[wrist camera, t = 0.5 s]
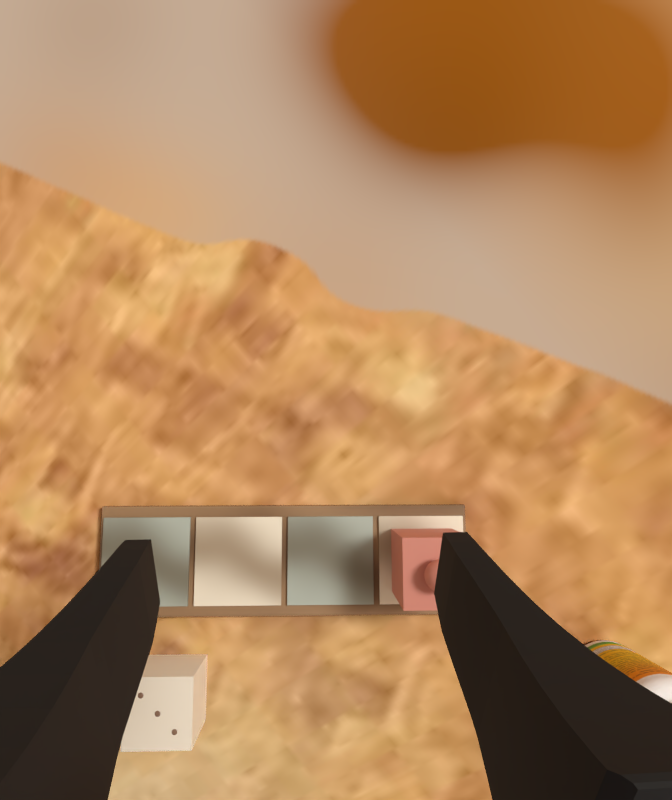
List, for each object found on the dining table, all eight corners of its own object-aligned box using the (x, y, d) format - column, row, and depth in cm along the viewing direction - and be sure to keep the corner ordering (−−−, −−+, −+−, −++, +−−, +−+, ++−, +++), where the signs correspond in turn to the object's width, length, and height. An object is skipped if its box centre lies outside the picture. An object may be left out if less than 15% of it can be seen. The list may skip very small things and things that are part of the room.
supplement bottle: (548, 660, 36) (631, 728, 27) (619, 624, 37) (726, 679, 27) (586, 739, 36) (685, 838, 26) (658, 701, 36) (781, 786, 26)
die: (206, 720, 35) (191, 752, 31) (143, 721, 35) (120, 753, 31) (207, 653, 36) (193, 676, 32) (145, 654, 36) (123, 677, 32)
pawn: (453, 590, 36) (482, 617, 29) (392, 591, 36) (408, 618, 29) (451, 528, 36) (479, 540, 30) (391, 528, 36) (406, 541, 30)
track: (465, 611, 36) (469, 614, 36) (100, 615, 36) (95, 618, 35) (462, 504, 37) (465, 505, 37) (105, 506, 37) (100, 507, 36)
